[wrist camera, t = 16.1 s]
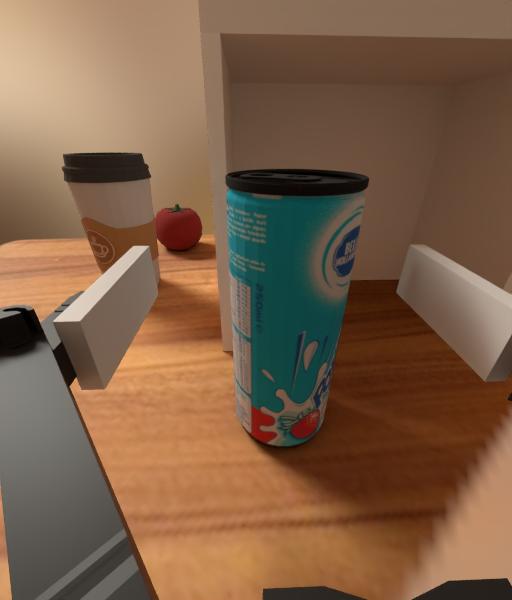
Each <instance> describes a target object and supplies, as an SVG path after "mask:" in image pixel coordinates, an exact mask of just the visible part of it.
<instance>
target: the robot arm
mask: <svg viewBox="0 0 512 600" xmlns="http://www.w3.org/2000/svg"><path fill="white" fill-rule="evenodd" d="M396 293H397V294H398V295H399V296H400V297H401V298H402V299H403V300H404V301H405V302H406V303H407V304H408V305H409V306H410V307H411V308H412V309H413V310H414V311H415V312H416V313H417V314H418V315H419V316H420V317H421V318H422V319H423V320H424V321H425V322H426V323H427V324H428V325H429V326H430V327H431V328H432V329H433V330H434V331H435V332H436V333H437V334H438V335H439V336H440V337H441V338H442V339H443V340H444V341H445V342H446V343H447V344H448V345H449V346H450V347H451V348H452V349H453V350H454V351H455V352H456V353H457V354H458V355H459V356H460V357H461V358H462V359H463V360H464V361H465V362H466V363H467V364H468V365H469V366H470V367H471V368H472V369H473V370H474V371H475V372H476V373H477V374H478V375H479V376H480V377H481V378H482V379H483V380H484V381H485V382H488V381H506V380H507V379H508V377H509V375H510V374H511V372H512V295H511V294H509V293H508V292H506V291H504V290H502V289H501V288H499V287H497V286H495V285H494V284H492V283H490V282H489V281H487V280H485V279H483V278H482V277H480V276H478V275H476V274H475V273H473V272H471V271H470V270H468V269H466V268H464V267H463V266H461V265H459V264H457V263H456V262H454V261H452V260H450V259H449V258H447V257H445V256H444V255H442V254H440V253H438V252H437V251H435V250H433V249H431V248H430V247H428V246H426V245H410V246H409V249H408V253H407V256H406V260H405V263H404V266H403V270H402V273H401V277H400V280H399V284H398V287H397V291H396ZM158 295H159V294H158V289H157V284H156V279H155V273H154V268H153V263H152V258H151V253H150V247H149V246H133V247H132V248H131V249H130V250H129V251H128V252H126V253H125V254H124V255H123V256H122V257H121V258H120V259H119V260H118V261H117V262H116V263H115V264H114V265H113V266H111V267H110V268H109V269H108V270H107V271H106V272H105V273H104V274H103V275H102V276H101V277H100V278H99V279H98V280H97V281H95V282H94V283H93V284H92V285H91V286H90V287H89V288H88V289H87V290H86V291H81V292H79V293H77V294H75V295H73V296H71V297H69V298H68V299H67V300H66V301H65V302H64V303H63V304H62V305H61V306H59V307H58V308H57V309H56V310H55V312H53V313H51V314H50V315H49V316H48V317H47V318H46V319H45V320H43V321H42V322H41V323H40V322H39V319H38V317H37V315H36V313H35V311H34V309H33V308H32V307H31V306H26V305H17V306H10V307H5V308H1V309H0V483H1V493H2V503H3V513H4V523H5V533H6V543H7V553H8V563H9V573H10V583H11V593H12V600H159V599H158V596H157V594H156V591H155V589H154V587H153V584H152V582H151V580H150V577H149V575H148V572H147V570H146V568H145V565H144V563H143V560H142V558H141V556H140V553H139V551H138V549H137V546H136V544H135V541H134V539H133V537H132V534H131V532H130V529H129V527H128V525H127V522H126V520H125V518H124V515H123V513H122V510H121V508H120V506H119V503H118V501H117V498H116V496H115V494H114V491H113V489H112V487H111V484H110V482H109V479H108V477H107V475H106V472H105V470H104V467H103V465H102V463H101V460H100V458H99V456H98V453H97V451H96V448H95V446H94V444H93V441H92V439H91V436H90V434H89V432H88V429H87V427H86V425H85V422H84V420H83V417H82V415H81V413H80V410H79V408H78V405H77V403H76V401H75V398H74V396H73V394H72V391H71V389H70V387H69V386H70V385H71V384H72V382H73V381H74V379H75V378H77V380H78V382H79V385H80V387H81V389H82V390H97V389H105V388H106V387H107V385H108V383H109V381H110V380H111V378H112V376H113V374H114V372H115V371H116V369H117V367H118V365H119V364H120V362H121V360H122V358H123V357H124V355H125V353H126V351H127V350H128V348H129V346H130V344H131V342H132V341H133V339H134V337H135V335H136V334H137V332H138V330H139V328H140V327H141V325H142V323H143V321H144V320H145V318H146V316H147V314H148V313H149V311H150V309H151V307H152V305H153V304H154V302H155V300H156V298H157V297H158ZM508 400H510V401H512V393H511V394H510V396H509V398H508ZM263 600H367V599H363V598H360V597H357V596H354V595H351V594H347V593H344V592H341V591H338V590H335V589H331V588H328V587H325V586H318V587H295V588H272V589H263ZM412 600H512V586H511V584H510V582H509V581H508V579H507V578H504V579H482V580H460V581H447V582H446V583H444V584H442V585H440V586H438V587H436V588H434V589H432V590H430V591H428V592H426V593H424V594H422V595H420V596H418V597H416V598H414V599H412Z"/></svg>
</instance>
